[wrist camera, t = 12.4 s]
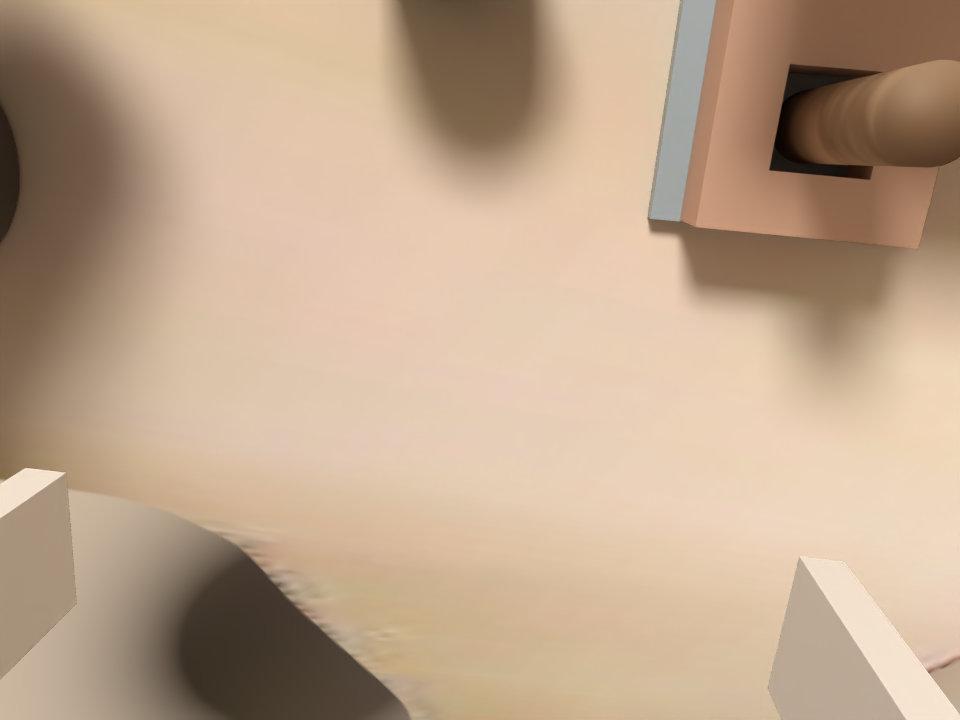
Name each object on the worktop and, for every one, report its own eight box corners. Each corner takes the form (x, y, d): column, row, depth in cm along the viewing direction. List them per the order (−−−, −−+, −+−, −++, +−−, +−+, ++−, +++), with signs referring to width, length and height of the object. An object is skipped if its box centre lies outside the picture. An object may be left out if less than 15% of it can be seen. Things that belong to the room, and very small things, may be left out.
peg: (779, 85, 37) (896, 54, 25) (851, 93, 37) (1001, 65, 25) (764, 159, 38) (871, 162, 26) (834, 166, 38) (972, 172, 26)
